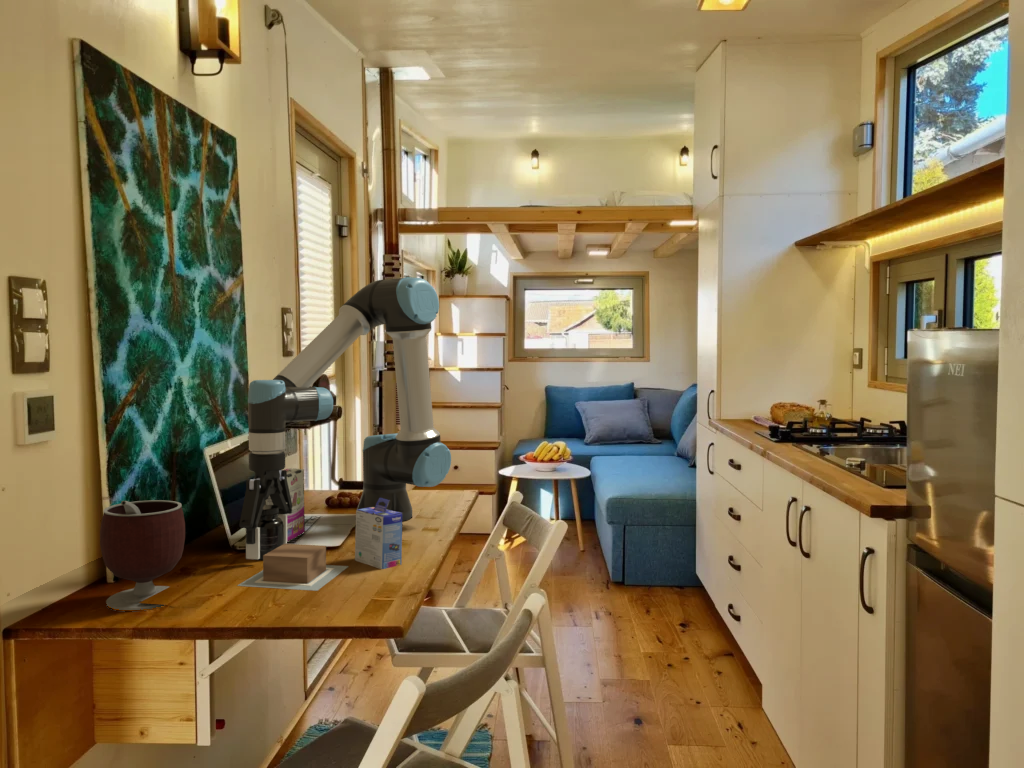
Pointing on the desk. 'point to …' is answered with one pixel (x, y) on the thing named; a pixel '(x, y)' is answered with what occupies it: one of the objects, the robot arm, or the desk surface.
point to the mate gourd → (141, 547)
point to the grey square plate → (312, 585)
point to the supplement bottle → (270, 530)
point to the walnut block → (294, 563)
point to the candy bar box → (294, 503)
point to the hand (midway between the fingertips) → (267, 550)
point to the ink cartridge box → (378, 536)
